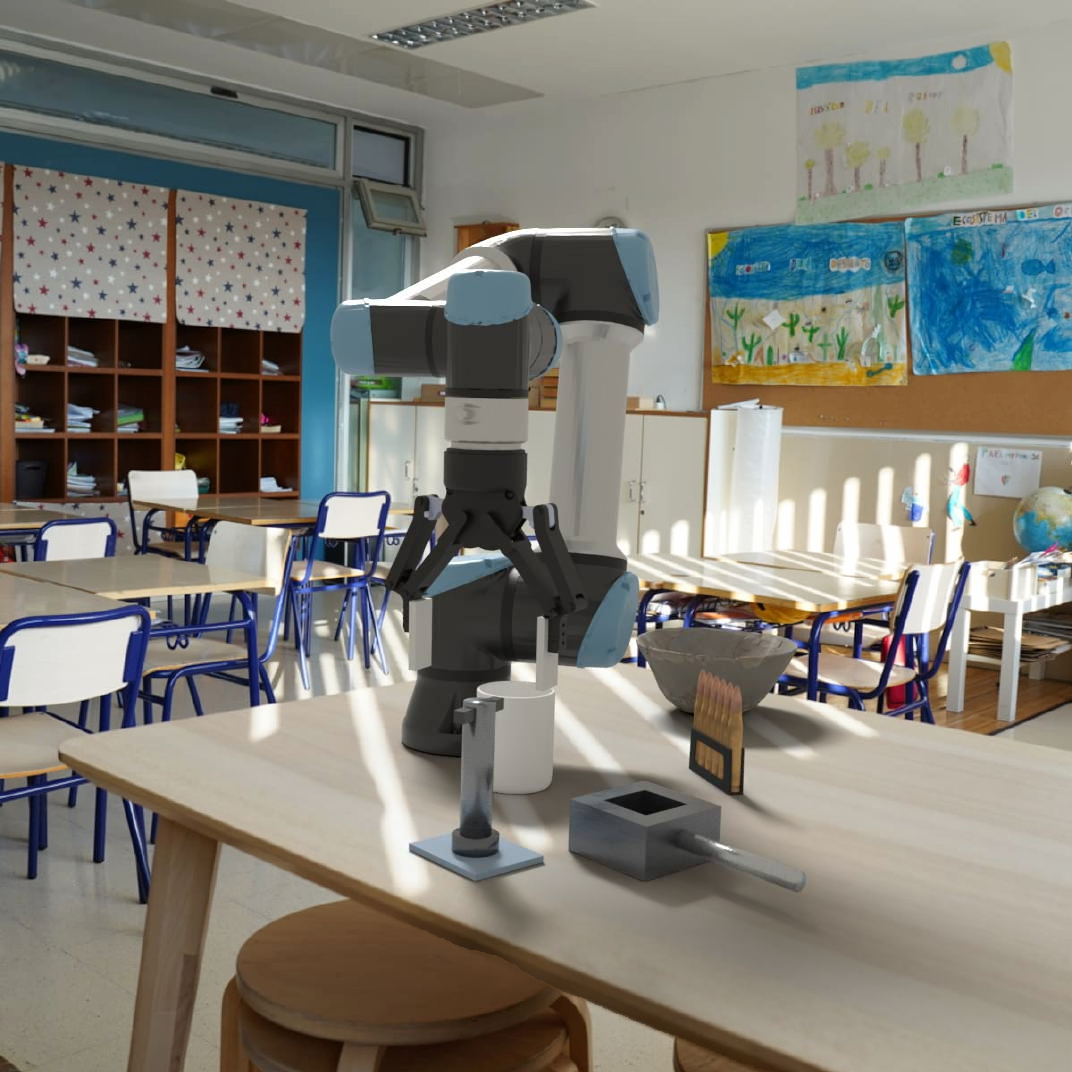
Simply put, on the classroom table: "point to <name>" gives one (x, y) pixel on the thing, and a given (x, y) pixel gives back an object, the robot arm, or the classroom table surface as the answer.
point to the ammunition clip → (718, 735)
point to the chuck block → (661, 835)
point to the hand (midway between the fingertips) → (481, 677)
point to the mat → (476, 868)
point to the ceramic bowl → (715, 661)
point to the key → (477, 778)
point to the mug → (522, 736)
